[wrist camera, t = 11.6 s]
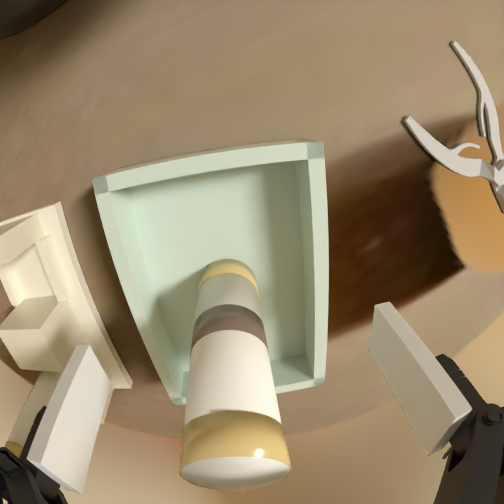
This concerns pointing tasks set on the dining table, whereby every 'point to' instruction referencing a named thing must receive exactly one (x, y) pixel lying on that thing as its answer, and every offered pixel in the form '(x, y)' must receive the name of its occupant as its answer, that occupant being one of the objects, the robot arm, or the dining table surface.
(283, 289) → the parts tray
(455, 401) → the robot arm
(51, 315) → the fuse holder
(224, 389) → the fuse
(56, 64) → the dining table surface
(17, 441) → the fuse
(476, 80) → the pliers
